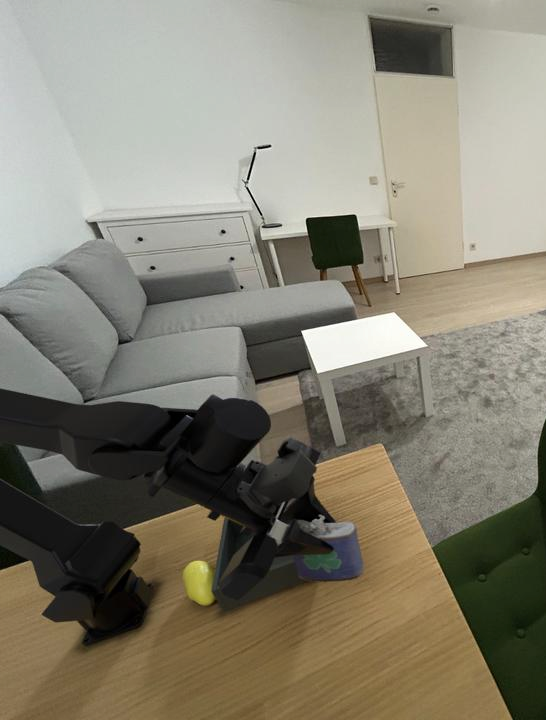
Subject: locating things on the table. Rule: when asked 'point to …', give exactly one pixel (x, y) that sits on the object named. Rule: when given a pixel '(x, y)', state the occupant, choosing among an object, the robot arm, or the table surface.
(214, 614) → the table surface
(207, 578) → the yellow rounded oblong piece
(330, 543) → the flask
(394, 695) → the table surface
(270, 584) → the tray
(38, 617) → the table surface
